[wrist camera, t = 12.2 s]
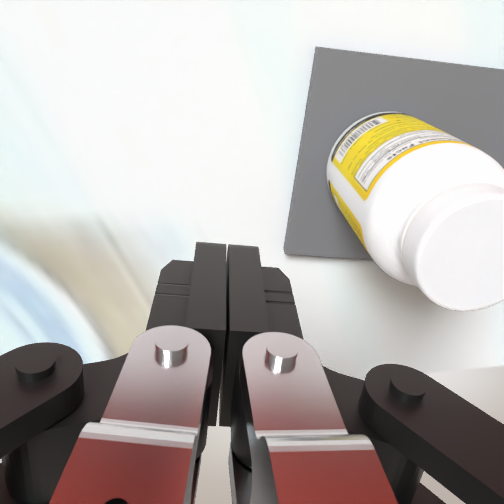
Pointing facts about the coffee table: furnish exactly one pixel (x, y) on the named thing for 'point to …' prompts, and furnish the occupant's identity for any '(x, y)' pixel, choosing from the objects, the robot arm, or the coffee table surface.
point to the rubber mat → (373, 101)
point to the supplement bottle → (423, 207)
